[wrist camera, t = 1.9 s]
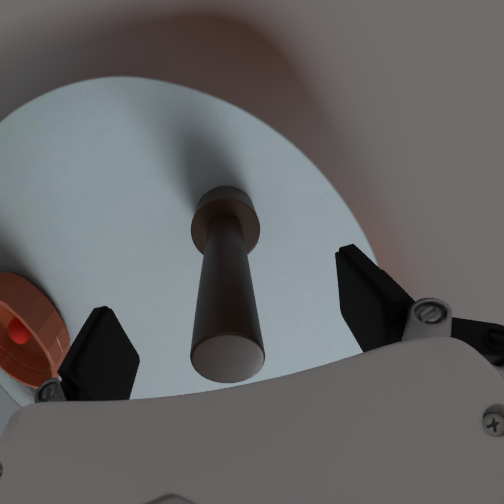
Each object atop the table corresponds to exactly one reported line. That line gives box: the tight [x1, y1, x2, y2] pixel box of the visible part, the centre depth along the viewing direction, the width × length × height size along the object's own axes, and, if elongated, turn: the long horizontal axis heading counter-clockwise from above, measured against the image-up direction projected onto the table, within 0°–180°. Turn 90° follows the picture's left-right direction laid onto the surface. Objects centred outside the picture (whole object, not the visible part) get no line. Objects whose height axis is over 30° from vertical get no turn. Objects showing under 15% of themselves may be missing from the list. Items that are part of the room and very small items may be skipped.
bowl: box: [0, 272, 70, 389], centre depth 22 cm, size 13×13×5 cm
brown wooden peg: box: [190, 186, 265, 383], centre depth 15 cm, size 4×4×15 cm
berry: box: [8, 318, 31, 344], centre depth 22 cm, size 3×3×3 cm
